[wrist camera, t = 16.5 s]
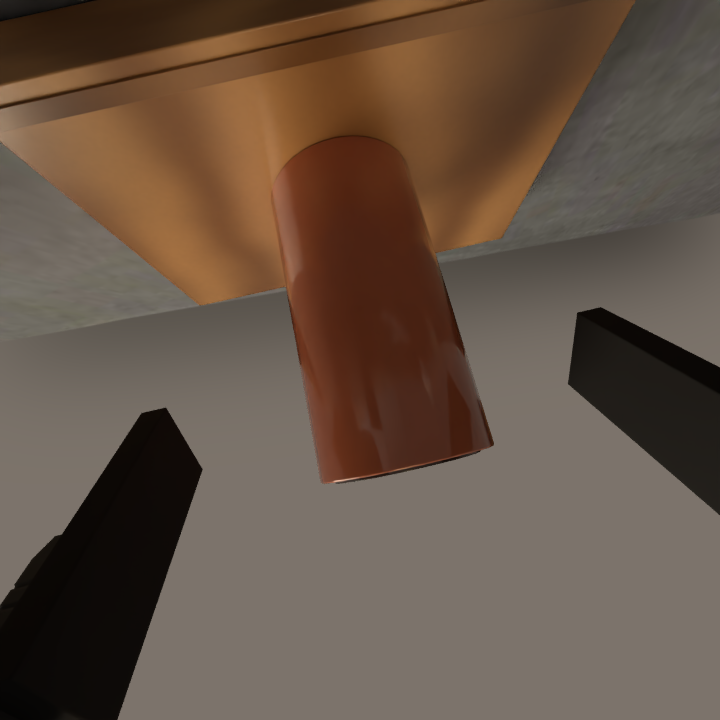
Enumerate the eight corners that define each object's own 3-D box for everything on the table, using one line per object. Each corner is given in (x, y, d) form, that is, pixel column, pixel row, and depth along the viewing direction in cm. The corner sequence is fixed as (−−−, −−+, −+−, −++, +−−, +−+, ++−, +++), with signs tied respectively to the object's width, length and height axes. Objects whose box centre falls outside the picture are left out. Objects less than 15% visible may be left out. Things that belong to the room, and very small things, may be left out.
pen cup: (290, 250, 19) (333, 479, 16) (248, 155, 13) (304, 495, 10) (405, 225, 19) (470, 448, 16) (417, 118, 13) (525, 446, 10)
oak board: (196, 272, 24) (200, 307, 23) (-49, 30, 10) (-57, 100, 10) (490, 206, 24) (502, 239, 23) (635, -122, 10) (675, -64, 10)
